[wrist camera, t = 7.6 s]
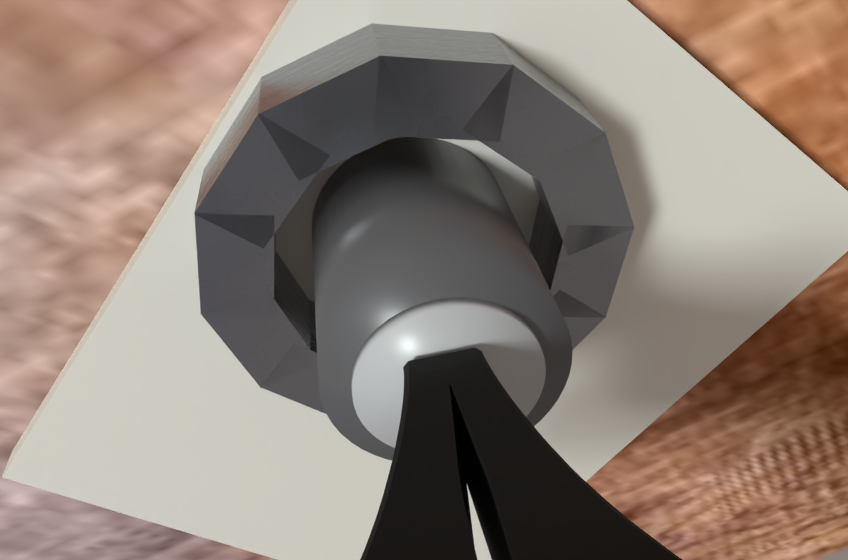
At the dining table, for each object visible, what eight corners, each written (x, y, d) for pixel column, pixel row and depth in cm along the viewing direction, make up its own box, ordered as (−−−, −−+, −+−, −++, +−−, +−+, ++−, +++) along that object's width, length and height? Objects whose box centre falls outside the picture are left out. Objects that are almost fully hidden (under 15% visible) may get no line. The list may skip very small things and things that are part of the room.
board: (437, 584, 29) (441, 608, 29) (12, 450, 22) (1, 477, 22) (859, 202, 21) (881, 220, 21) (406, -190, 14) (412, -186, 14)
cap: (428, 332, 21) (468, 503, 16) (273, 253, 18) (267, 423, 14) (544, 201, 19) (629, 350, 14) (387, 97, 17) (425, 231, 12)
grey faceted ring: (443, 415, 23) (454, 466, 21) (134, 278, 18) (119, 330, 17) (676, 171, 19) (712, 211, 17) (354, -72, 15) (361, -48, 13)
